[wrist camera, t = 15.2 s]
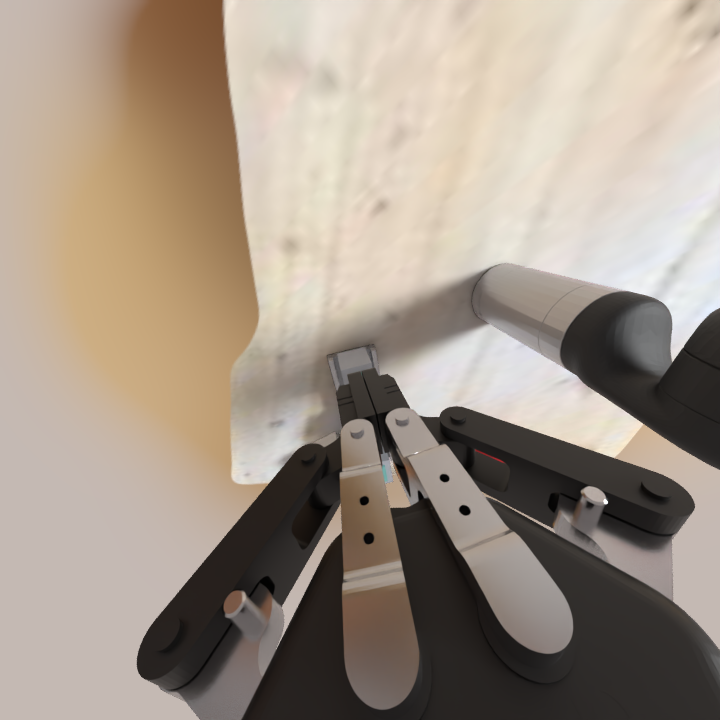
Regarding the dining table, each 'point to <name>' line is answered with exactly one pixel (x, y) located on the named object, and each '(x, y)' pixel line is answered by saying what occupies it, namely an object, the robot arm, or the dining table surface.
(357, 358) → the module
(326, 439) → the loose relay
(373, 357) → the rail
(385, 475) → the block
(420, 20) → the dining table surface
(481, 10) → the dining table surface
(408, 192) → the dining table surface
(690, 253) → the dining table surface
